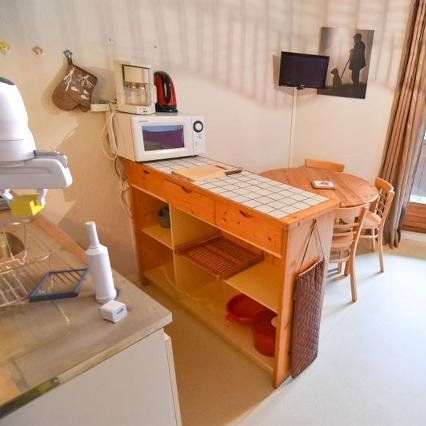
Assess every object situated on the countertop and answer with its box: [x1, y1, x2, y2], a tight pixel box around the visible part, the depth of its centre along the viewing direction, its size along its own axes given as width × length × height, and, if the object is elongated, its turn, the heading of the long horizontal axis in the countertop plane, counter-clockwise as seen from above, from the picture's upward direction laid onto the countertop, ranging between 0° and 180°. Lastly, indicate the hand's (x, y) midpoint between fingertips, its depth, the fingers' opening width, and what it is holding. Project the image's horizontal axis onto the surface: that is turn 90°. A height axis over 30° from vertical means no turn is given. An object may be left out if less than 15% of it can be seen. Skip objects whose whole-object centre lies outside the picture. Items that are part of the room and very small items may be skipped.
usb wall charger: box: [96, 299, 128, 324], centre depth 88 cm, size 4×7×4 cm, turn 71°
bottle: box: [84, 221, 117, 305], centre depth 90 cm, size 5×5×25 cm
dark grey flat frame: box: [27, 267, 90, 304], centre depth 98 cm, size 11×13×2 cm
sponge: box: [9, 193, 45, 217], centre depth 79 cm, size 6×4×4 cm, turn 18°
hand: (27, 205), depth 79 cm, fingers closed on sponge, 4 cm apart
